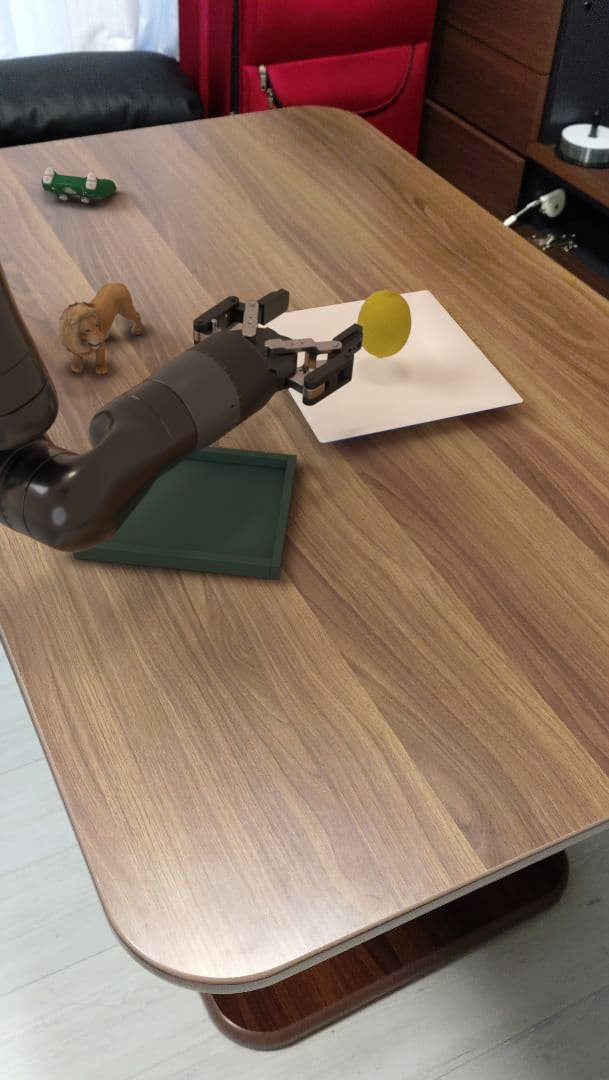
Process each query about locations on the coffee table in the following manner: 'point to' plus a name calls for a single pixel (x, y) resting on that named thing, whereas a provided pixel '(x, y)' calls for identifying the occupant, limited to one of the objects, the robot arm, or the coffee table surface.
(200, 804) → the coffee table surface
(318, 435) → the plate
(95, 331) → the lion figurine
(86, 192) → the green piece
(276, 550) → the tray
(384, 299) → the lemon
